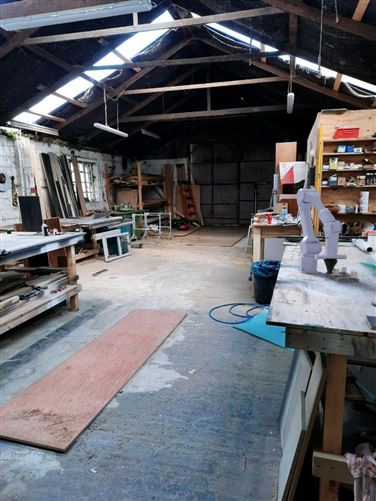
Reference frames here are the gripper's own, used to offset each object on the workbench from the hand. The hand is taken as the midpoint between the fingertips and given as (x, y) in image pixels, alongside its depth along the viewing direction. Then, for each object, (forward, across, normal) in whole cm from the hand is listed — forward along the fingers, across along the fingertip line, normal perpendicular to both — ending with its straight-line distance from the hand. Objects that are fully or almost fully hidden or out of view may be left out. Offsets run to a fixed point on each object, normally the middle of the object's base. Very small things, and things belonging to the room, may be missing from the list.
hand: (329, 273), depth 158 cm
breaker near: (0, +9, -5) cm, 11 cm away
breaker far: (0, +9, +6) cm, 11 cm away
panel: (+2, +6, 0) cm, 6 cm away
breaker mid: (0, +3, 0) cm, 3 cm away
